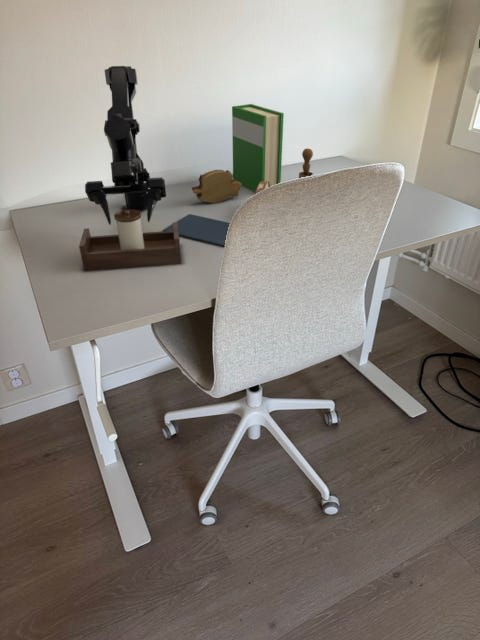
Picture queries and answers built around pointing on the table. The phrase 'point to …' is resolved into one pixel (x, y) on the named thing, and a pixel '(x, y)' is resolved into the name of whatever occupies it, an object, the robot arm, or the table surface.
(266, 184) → the tin
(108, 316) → the table surface
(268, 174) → the hardback book
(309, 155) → the brown wooden pawn
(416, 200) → the table surface
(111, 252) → the brown wooden tray
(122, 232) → the canister
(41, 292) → the table surface
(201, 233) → the mat
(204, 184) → the wooden carving
